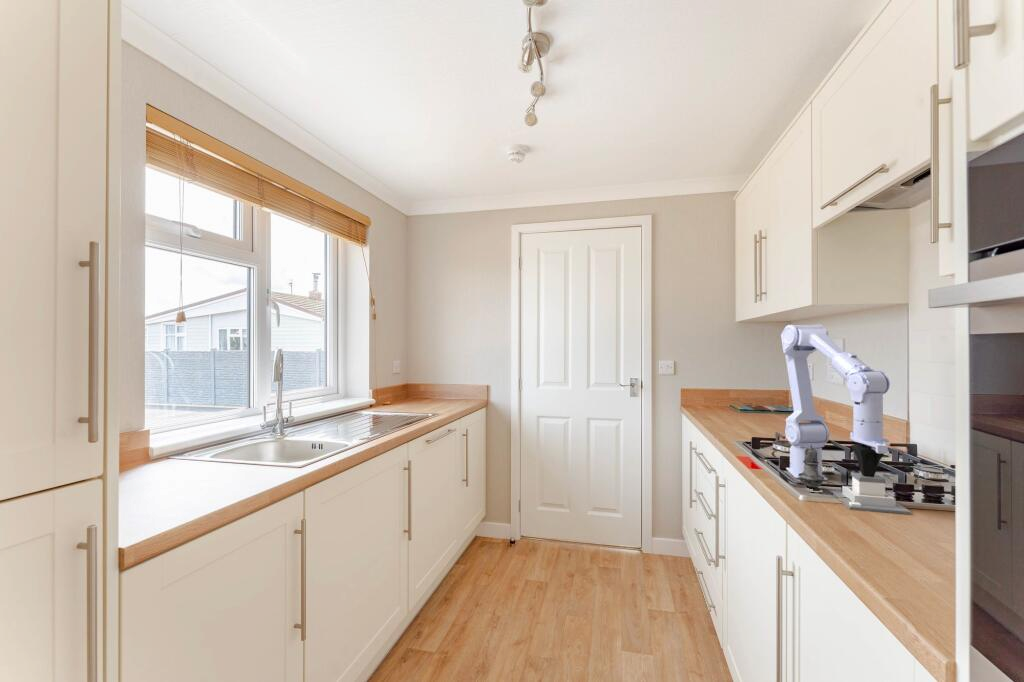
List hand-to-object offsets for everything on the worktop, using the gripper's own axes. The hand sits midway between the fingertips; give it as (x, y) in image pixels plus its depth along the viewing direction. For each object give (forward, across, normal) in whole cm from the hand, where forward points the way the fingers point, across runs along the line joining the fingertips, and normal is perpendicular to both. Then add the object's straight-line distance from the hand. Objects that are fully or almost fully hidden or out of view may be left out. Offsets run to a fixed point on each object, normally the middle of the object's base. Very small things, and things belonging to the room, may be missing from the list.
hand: (867, 475), depth 111 cm
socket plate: (+7, 0, 0) cm, 7 cm away
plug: (+6, 0, 0) cm, 6 cm away
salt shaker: (+7, +7, +10) cm, 14 cm away
